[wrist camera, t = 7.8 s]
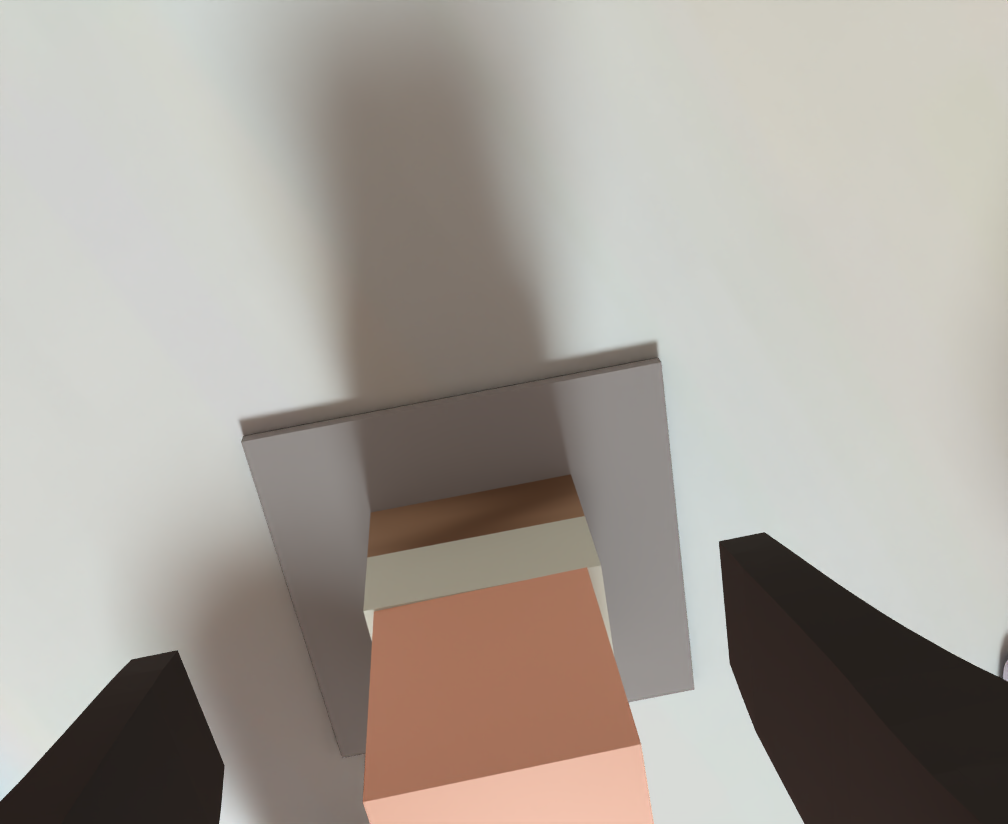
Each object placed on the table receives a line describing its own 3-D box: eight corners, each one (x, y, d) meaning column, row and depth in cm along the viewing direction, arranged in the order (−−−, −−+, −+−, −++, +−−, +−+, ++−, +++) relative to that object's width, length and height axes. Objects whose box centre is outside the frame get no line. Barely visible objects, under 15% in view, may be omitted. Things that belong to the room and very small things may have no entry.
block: (587, 567, 19) (640, 744, 15) (615, 729, 21) (671, 930, 17) (373, 611, 19) (362, 802, 15) (421, 770, 21) (424, 982, 17)
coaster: (657, 357, 22) (661, 362, 22) (691, 682, 27) (694, 689, 26) (243, 436, 22) (241, 441, 22) (343, 749, 26) (342, 757, 26)
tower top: (584, 515, 21) (601, 565, 19) (610, 686, 23) (627, 744, 22) (367, 557, 21) (363, 611, 19) (412, 724, 23) (412, 786, 21)
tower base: (570, 474, 23) (584, 515, 21) (595, 635, 25) (610, 686, 23) (370, 512, 23) (367, 557, 21) (412, 670, 25) (412, 724, 23)
